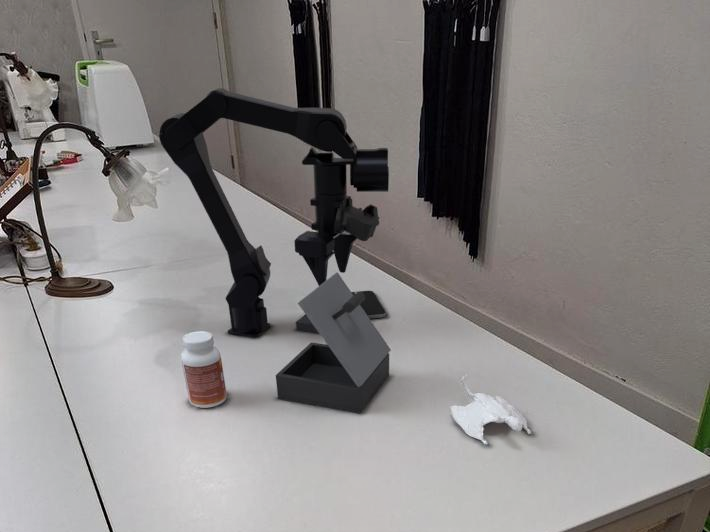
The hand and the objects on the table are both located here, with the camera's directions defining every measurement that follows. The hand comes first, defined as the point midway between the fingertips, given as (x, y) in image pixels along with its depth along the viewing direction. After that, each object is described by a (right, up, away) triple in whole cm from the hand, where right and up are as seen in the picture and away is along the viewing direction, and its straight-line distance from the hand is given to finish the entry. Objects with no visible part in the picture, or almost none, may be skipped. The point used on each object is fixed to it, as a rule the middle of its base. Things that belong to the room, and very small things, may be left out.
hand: (332, 279), depth 124 cm
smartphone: (+6, -1, +15) cm, 17 cm away
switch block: (-1, -7, +7) cm, 10 cm away
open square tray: (+1, -23, -14) cm, 27 cm away
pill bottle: (-20, -25, -16) cm, 36 cm away
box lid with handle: (+2, -15, -21) cm, 26 cm away
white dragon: (+24, -29, -24) cm, 45 cm away
